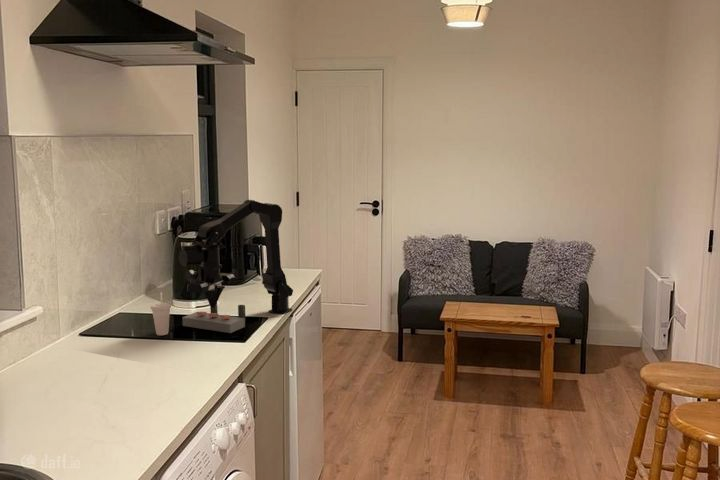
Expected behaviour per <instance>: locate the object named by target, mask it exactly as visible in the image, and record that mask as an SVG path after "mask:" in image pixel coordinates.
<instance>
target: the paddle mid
mask: <svg viewBox="0 0 720 480" xmlns="http://www.w3.org/2000/svg"><path fill="white" fill-rule="evenodd" d="M218 315H219V313H218V314H217V313H211V312H210V314H209V315H208V317H218Z"/></svg>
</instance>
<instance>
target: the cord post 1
mask: <svg viewBox="0 0 720 480" xmlns="http://www.w3.org/2000/svg"><path fill="white" fill-rule="evenodd" d="M209 307H210V306H209ZM209 311H210V313H217V314H218V315H219V313H218V302H217V303H216V306H215V308H211V307H210V309H209Z"/></svg>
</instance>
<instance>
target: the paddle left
mask: <svg viewBox="0 0 720 480" xmlns="http://www.w3.org/2000/svg"><path fill="white" fill-rule="evenodd" d="M196 312H197V315H201V316H202V315H207V313H208V312H207V311H203V310H202V311H196Z"/></svg>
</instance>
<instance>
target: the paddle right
mask: <svg viewBox="0 0 720 480" xmlns="http://www.w3.org/2000/svg"><path fill="white" fill-rule="evenodd" d="M220 315H221V316H220V318H222V319H229V318H230V316H231V315H229V314H220Z"/></svg>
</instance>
